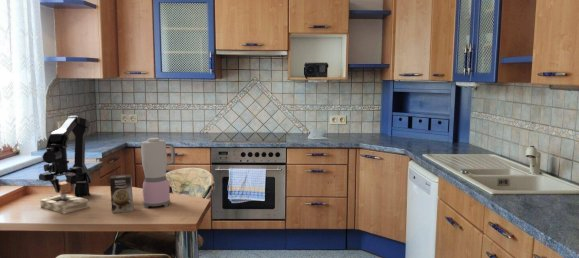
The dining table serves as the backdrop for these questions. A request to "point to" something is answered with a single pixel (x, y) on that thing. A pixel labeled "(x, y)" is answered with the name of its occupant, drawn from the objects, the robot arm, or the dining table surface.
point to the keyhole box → (64, 203)
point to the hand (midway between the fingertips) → (63, 191)
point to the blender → (156, 172)
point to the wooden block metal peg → (64, 190)
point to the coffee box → (121, 193)
